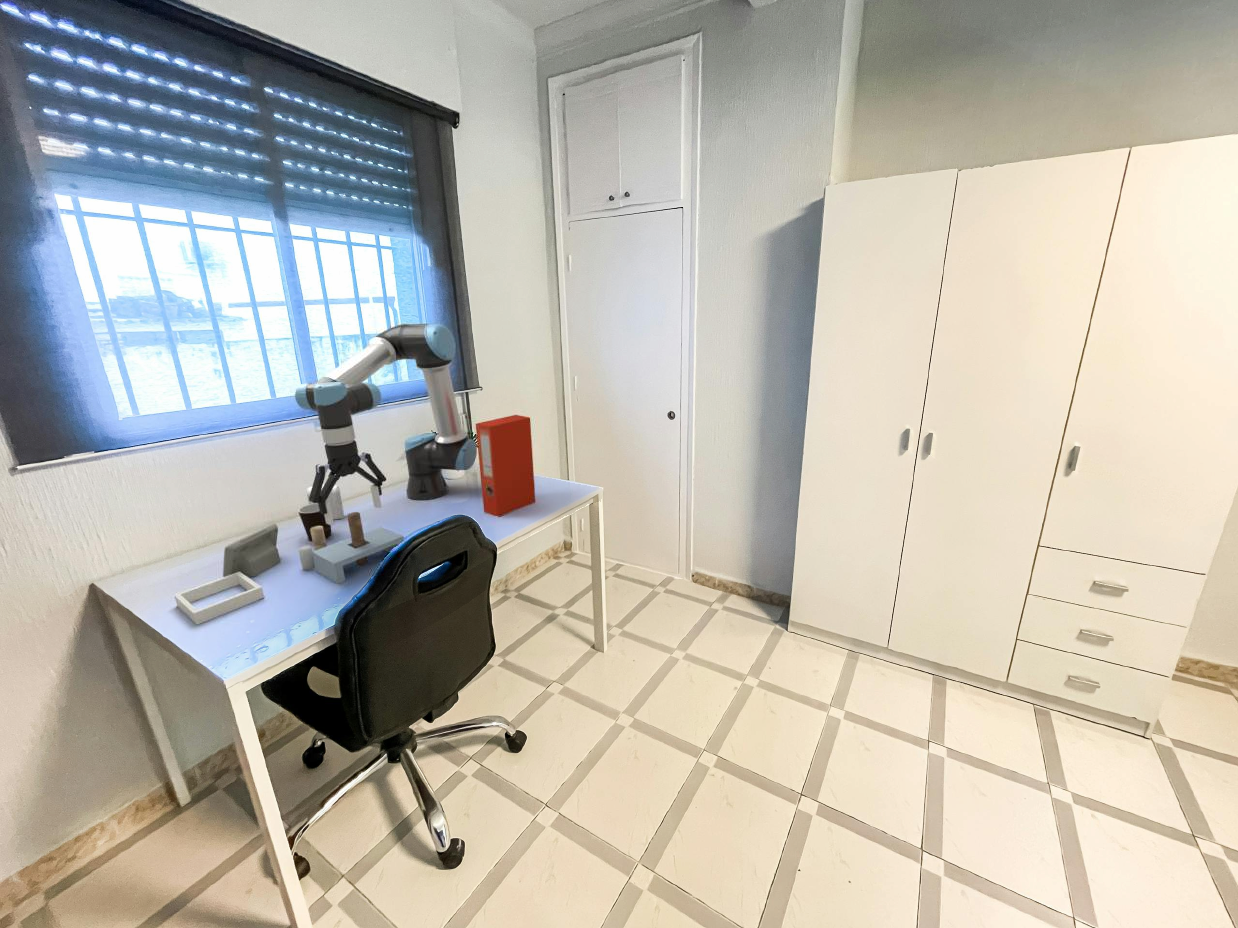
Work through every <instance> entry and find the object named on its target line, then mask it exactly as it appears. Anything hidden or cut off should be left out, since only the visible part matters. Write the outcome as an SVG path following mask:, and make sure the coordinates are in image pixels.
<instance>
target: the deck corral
mask: <svg viewBox="0 0 1238 928" xmlns="http://www.w3.org/2000/svg"><path fill="white" fill-rule="evenodd" d="M238 585H240V586H241V587H243V588H244V589H245V591H244V592H240V593H238V594H236V595H233V596H231V597H228V598H226V599H223V600H220V601H218V602H215V603H212V604H209V605H207V606H204V607H201V608H200V609H197V608H196V607H194V605H192V603H193V602H196V601H199V600H201V599H204V598H206V597H208V596H212V595H214V594H216V593H219V592H222V591H225V590H227V589H231V588H233V587H236V586H238ZM173 596H174V599H175V603H176V605H177V608H179V609H180V610H181V611H182V612H183V613H185V614H186V616H187V617H189V618H190V619H191V620H192V622H194V623H195V624H196V625H200V624H204V623H205V622H208V621H210V620H212V619H215V618H217V617H220V616H222V615H224V614H227V613H229V612H232V611H235V610H237V609H239V608H242V607H245V606H247V605H249V604H252V603H254V602H257V601H259V600H262V599H264V598H265V595H264V590H263V587H262V586H261V585H259V584H258V583H257V582H255V581H254V580H252V579H251V578H249V576H245V575H244V574H242V573H241V572H237V573H234V574H231V575H229V576H226V577H220V578H218V579H215V580H212V581H208V582H207V583H204V584H201V585H199V586H195V587H193V588H189V589H187V590H184V591H182V592H179V593H175V594H173Z"/></svg>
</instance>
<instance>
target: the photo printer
mask: <svg viewBox="0 0 1238 928" xmlns="http://www.w3.org/2000/svg"><path fill="white" fill-rule="evenodd" d="M324 484H325V483H323V486H324ZM323 486H322V488H323ZM311 490H312V486H310V487H308V488H307V489H306V496H307V502H308V505H309V504H314V503H313V502H311V501H309V497H310V493H311ZM321 490H322V489H321ZM326 501H328V502H329V504H330V508H331V513H332V518H333V520H342V519H344V517H345V514H344V506H343V500H342V496H341V489H340V487H339V486H337V485H336V484H335V485H334V487H333V489H332V491H331V493H330V494H329V496H328V498H327V500H326Z"/></svg>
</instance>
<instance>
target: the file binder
mask: <svg viewBox="0 0 1238 928" xmlns="http://www.w3.org/2000/svg"><path fill="white" fill-rule="evenodd" d="M475 430H476V431H475V433H476V441H477V444H476V445H477V453H478V463H479V473H480V475H479V476H480V483H481V484H480V485H481V494H482V504H483V512H484V513H486V514H488V515H491V516H494V517H496V516H499V517H502V516H504V515H506V514H509V513H512V512H514V511H517V510H519V509H522V508H524V507H526V506H527V507H528V506H529V505H531V504H535V503H536V489H535V475H534V458H533V442H532V441H533V440H532V425H531V417H530V416H524V415H519V414H513V415H508V416H504V417H500V418H495V419H491V420H486V421H481V422H477V423H475Z"/></svg>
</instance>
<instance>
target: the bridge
mask: <svg viewBox="0 0 1238 928" xmlns="http://www.w3.org/2000/svg"><path fill="white" fill-rule="evenodd" d="M363 534H364V539H365V545H364V546H361V547H358V548H356V549H355V548H353V545H352V539H351V537H349V538H346V539H344V540H341V541H338V542H335V543H333V544H330V545H327V546H326V547H324V548H321V549H318V550H316V551H315V550H314V551H313V550H312V551H313V552H312V555H313V559H314V564H315V568H314V569H315V572H316V573H318V574H320V575H322V576H323V577H325V578H326V579H328V580H330V581H332V582H334V583H335V584H337V585H339V584H341V583H344V582H346V576H345V572H344V566H345V565H348V564H350V563H352V562H356V561H355V560H358V559H360V558H363V557H365V556H370V555H373V554H375V553H377V552H380V551H382V550H383V551H386V552H387V553H389V552H390V551H391V550H392V549H393V548H394V547H396V546H398V545H399V544H400V543H402V542H403V541H404V542H405V537H404V535H401V534H399V533H397V532H395V531H392V530H389V529H388V528H385V527H383V526H378V527H375V528H374V529H370V530H367V531H366V532H365V531H364V532H363Z"/></svg>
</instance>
